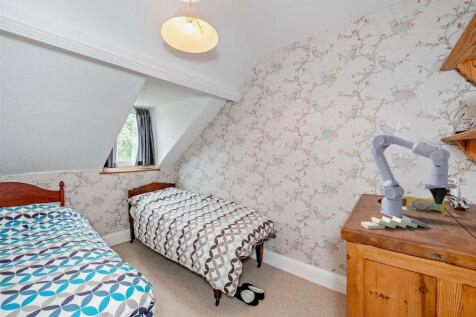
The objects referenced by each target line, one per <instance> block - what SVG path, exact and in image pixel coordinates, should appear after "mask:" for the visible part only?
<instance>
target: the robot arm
mask: <svg viewBox="0 0 476 317" xmlns="http://www.w3.org/2000/svg"><path fill="white" fill-rule="evenodd" d="M391 145H397V146H400V147H404V148H407V149H410V150H412V152H413V154H415V155H420V156H422V157H424V158H427V159H430V160H431V168H430V171H431V172H430V175H431V176H430V183H423V184H421V189H422V190H429V192H430V194H431V195H432V197H433V198H432V199H434V201H435V204H439V205H442V203H443V201H445V200H444V199H445V198H446V196H447V195H448V194H449V193H450V189H453V190H456V189H457V186H458V185H457V184H456V183H449V180H448V179H449V159H450V158H451V153H450V152H449V150H446V148H439V147H440V146H433V145H430V144H428V143H427V142H425V141H423V142H416V143H415V142H412V141H410V140H407V139H404V138H401V137H398V136H394V135H390V134H380V133H379V134H376V135H375V136H374V137H373V138H372V140H371V151H370V152H371V156H372V158H373V160H374V162H375V165H376V167H377V169H378V172H379V174H380V177H381V179H382V182H383V184H382V188H383V196H384V197H383V198H382V199H381V207H380V208H381V210H379V212H380V213H381V214H382V215H385V216H387V217H389V218H393V216H395V217H398V218H402V217H403V216H405V217H407V215H404V214H403V198H402V196H404V195H405V190H404V188H403V187H402V186H401V185H400V183H399V182H398V181H397V180H396V178H395V177H394V173H393V172H392V169H391V167H390V165H389V163H388V161H387V159H386V156H385V151H386V149H387V148H389V146H391Z"/></svg>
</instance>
